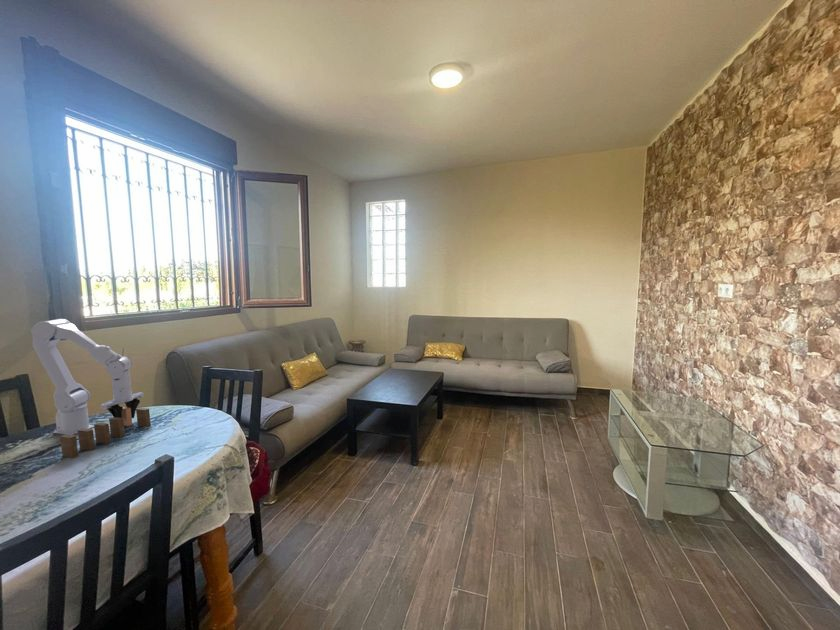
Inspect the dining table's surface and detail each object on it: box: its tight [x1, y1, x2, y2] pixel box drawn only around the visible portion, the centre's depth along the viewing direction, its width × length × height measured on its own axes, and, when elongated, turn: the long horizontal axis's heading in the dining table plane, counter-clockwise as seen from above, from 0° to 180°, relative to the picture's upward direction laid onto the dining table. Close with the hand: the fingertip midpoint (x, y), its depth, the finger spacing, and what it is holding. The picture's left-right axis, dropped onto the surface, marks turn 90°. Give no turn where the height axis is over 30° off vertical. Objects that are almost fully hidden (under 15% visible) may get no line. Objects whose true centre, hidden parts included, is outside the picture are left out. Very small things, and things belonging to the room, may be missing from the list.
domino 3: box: [93, 422, 112, 445], centre depth 121 cm, size 2×5×7 cm, turn 77°
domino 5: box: [135, 407, 151, 428], centre depth 135 cm, size 2×5×7 cm, turn 76°
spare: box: [122, 406, 133, 427], centre depth 136 cm, size 2×5×7 cm, turn 77°
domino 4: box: [108, 416, 126, 439], centre depth 126 cm, size 2×5×7 cm, turn 77°
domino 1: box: [59, 434, 79, 459], centre depth 112 cm, size 2×5×7 cm, turn 76°
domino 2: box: [77, 428, 96, 452], centre depth 117 cm, size 2×5×7 cm, turn 76°
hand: (125, 420), depth 136 cm, fingers open, 4 cm apart
